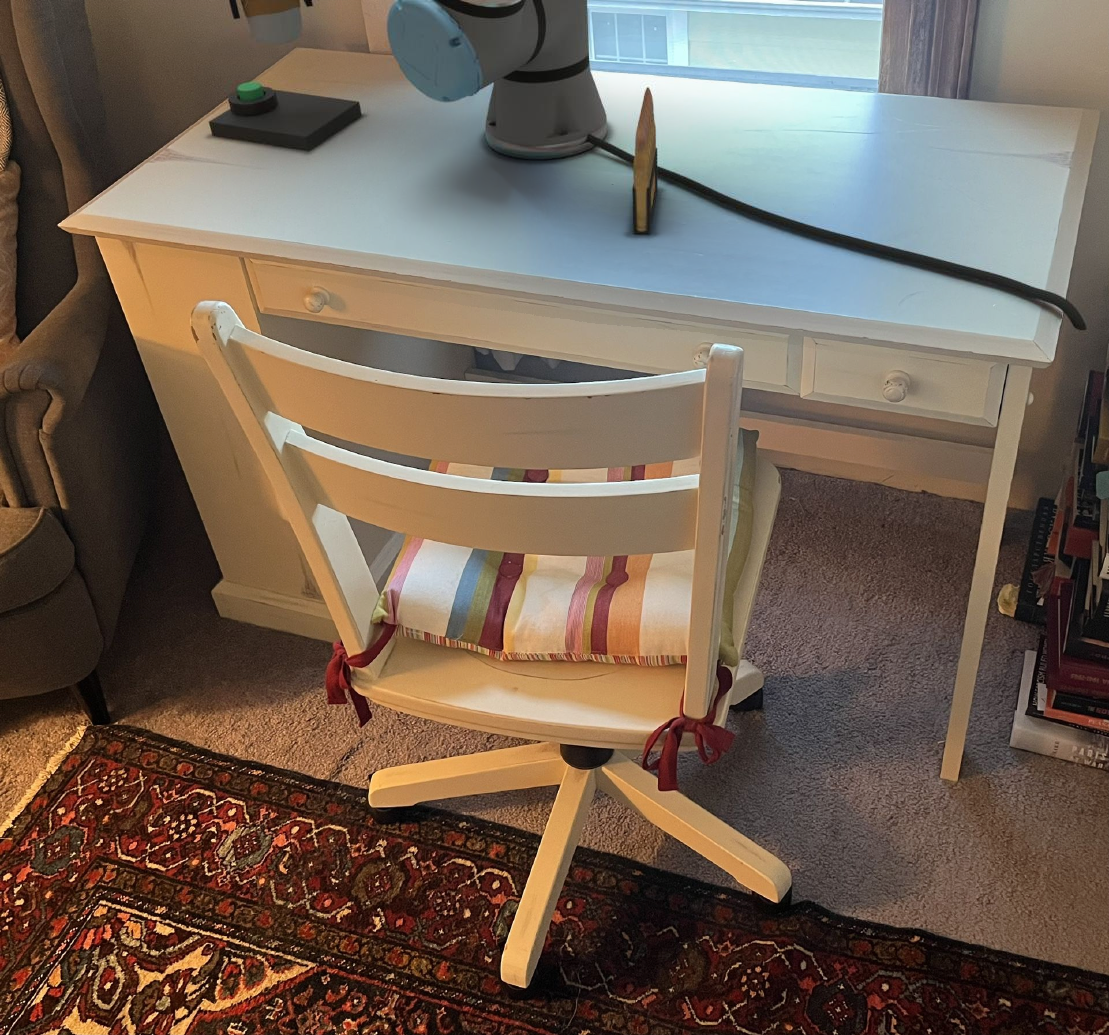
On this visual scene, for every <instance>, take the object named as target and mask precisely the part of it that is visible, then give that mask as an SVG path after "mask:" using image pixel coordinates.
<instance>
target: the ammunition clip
mask: <svg viewBox="0 0 1109 1035" xmlns="http://www.w3.org/2000/svg"><path fill="white" fill-rule="evenodd" d="M654 109H655V108H654V99H653V94H652V91H651V89H650V87H645V91H644V95H643V99H642V103H641V108H640V112H639V113H640V114H639V118H638V122H637V127H636V132H635V141H634V147H635V148H634V156H635V158H634V165H633V184H632V189H631V192H632V195H631V196H632V234H640V235H641V234H648V235H649V234H651V232H652V226H653V220H654V215H655V208H656V202H657V196H658V190H659V189H658V187H659V186H658V185H659V184H658V183H659V182H658V176H659V175H658V173H657V166H658V147H657V129H656V128H657V127H656V122H655V113H654V112H655V110H654Z"/></svg>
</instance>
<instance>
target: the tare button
mask: <svg viewBox="0 0 1109 1035" xmlns="http://www.w3.org/2000/svg"><path fill="white" fill-rule="evenodd" d="M262 86H263V85H262V83H261V82H259V81H248V82H244V83H242V84H239V85H238V86H237V91H238V93H239V97H240V100H243V101H251V100H256V99H259V98H262V97H263V96H264V92H263V88H262Z"/></svg>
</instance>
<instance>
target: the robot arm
mask: <svg viewBox="0 0 1109 1035" xmlns="http://www.w3.org/2000/svg"><path fill="white" fill-rule="evenodd" d="M303 2H304V5H305V6H306V7H307V8H309V7H313V6H314V3H313V1H312V0H303ZM228 3H229V7H230V12H231V14H232V18H233V20H238V19H241V16H240V11H239V7H238V3H237V0H228ZM588 13H589V12H588V0H395V1H394V2H393V3H392V4H391V6H390V8H389V11H388V14H387V19H386V20H387V21H386V33H387V39H388V43H389V46H390V49H391V50H390V51H391V53H392V55H393V58H394V59H395V60H396V62H397V64H398V67H399V69H400V71H401V72H402V74H403V75H404V77H406V79H407V80H408V82H410V83H411V85H412V86H414V88H416V90H418V91H419V92H420V93H422V94H423V95H424V96H426V97H428V98H430V99H432V100H434V101H436V102H442V103H454V102H457V101H459V100H462V99H464V98H466V97H472V96H473V97H474V95H477V94H478V93H479V92H480V91H481V90H483V89H484V88H486V87H488V86H490V85H492V89H491V94H490V99H489V104H488V109H487V114H486V119H485V126H484V127H485V135H486V141H487V144H488V145H489V146H490V148H491V149H493V150H494V151H495V152H498V153H500V154H502V155H505V156H508V157H512V158H516V159H517V158H518V159H524V160H549V159H559V158H565V157H570V156H573V155H574V156H575V155H577V154H579V153H583V152H585V151H588V150H590V149H592V148H594V147H597V148H599V149H601V150H603V151H605V152H607V153H609V154H612V155H613V156H615V157H617V158H619V159H621V160H623V161H625V162H627V163H629V164H631V165H633V166H634V158H635V155H634V154H631V153H629V152H627V151H625V150H624V149H621V148H619V147H617V146H615V145H614V144H611V143H610V142H608V141H605V140H604V139H605V137H606V136H607V133H608V122H607V120H608V119H607V113H606V110H605V107H604V105H603V101H602V99H601V95H600V93H599V91H598V87H597V85H596V82H595V80H594V77H593V74H592V71H591V62H590V40H589V39H590V37H589V15H588ZM657 173H658V176H659V177H661V178H664V179H667V180H669V181H672V182H674V183H676V184H678V185H681V186H683V187H686V188H688V189H690V190H692V191H694V192H697V193H699V194H701V195H703V196H706V197H707V198H709V199H712V200H714V201H715V202H718V203H720V204H722V205H725V206H726V207H729V208H731V209H734V210H737V211H739V212H741V213H744V214H746V215H749V216H751V217H755V218H757V219H760V220H761V221H765V222H768V223H771V224H774V225H777V226H778V227H779V226H780V227H782V228H786V229H789V230H792V231H795V232H798V233H801V234H805V235H808V236H811V237H815V238H819V239H822V240H824V241H828V242H832V243H836V244H839V245H843V246H848V247H850V248H854V249H859V250H862V251H865V252H869V253H873V254H877V255H881V256H885V257H889V258H893V259H896V260H901V261H904V262H908V263H913V264H916V265H919V266H924V267H928V268H932V269H935V270H939V271H941V272H946V273H950V274H953V275H957V276H962V277H964V278H969V279H973V280H976V281H977V280H978V281H981V282H985V283H988V284H992V285H994V286H998V287H1002V288H1005V289H1007V290H1010V291H1013V292H1015V293H1018V294H1021V295H1023V296H1025V297H1028V298H1031V299H1034V300H1037V301H1042V302H1045V303H1048V304H1051V305H1053V306H1055V307H1057V308H1058V309H1059V310H1061V311H1062V312H1063V313H1064V314H1065V315H1066V317H1067V318H1068V320H1069V321H1070V323H1071V324H1072V326H1073V328H1074V329H1076V330H1079V331H1086V330H1087V325H1086V324H1087V323H1086V322H1085V320H1084V318H1083V316H1082V315H1081V313H1080V312H1079V310H1078V309H1077V308H1076V307H1075V306H1074V305H1073V303H1071V302H1070V301H1069V300H1068V299H1066V298H1065V297H1063V296H1062V295H1059V294H1057V293H1055V292H1051V291H1049V290H1045V289H1042V288H1038V287H1035V286H1032V285H1030V284H1027V283H1024V282H1022V281H1019V280H1016V279H1013V278H1010V277H1008V276H1004V275H1001V274H997V273H995V272H990V271H987V270H984V269H983V270H982V269H979V268H975V267H971V266H967V265H963V264H959V263H955V262H951V261H948V260H945V259H940V258H936V257H933V256H929V255H925V254H921V253H917V252H913V251H909V250H905V249H901V248H896V247H893V246H889V245H885V244H881V243H877V242H873V241H870V240H866V239H862V238H858V237H856V236H855V237H854V236H851V235H847V234H844V233H840V232H835V231H831V230H828V229H824V228H820V227H817V226H815V225H810V224H807V223H805V222H801V221H797V220H794V219H791V218H789V217H785V216H781V215H779V214H776V213H773V212H770V211H766V210H764V209H761V208H759V207H756V206H753V205H751V204H748V203H745V202H743V201H741V200H738V199H735V198H733V197H730V196H728V195H726V194H724V193H721V192H719V191H718V190H715V189H713V188H711V187H708V186H707V185H705V184H702V183H700V182H698V181H695V180H694V179H691V178H689V177H687V176H685V175H682V174H680V173H677V172H675V171H672V170H669V169H667V168H664V167H662V166H659V165H657Z"/></svg>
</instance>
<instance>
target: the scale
mask: <svg viewBox="0 0 1109 1035" xmlns="http://www.w3.org/2000/svg"><path fill="white" fill-rule="evenodd" d="M262 88H263V92H264V96H263V97H262V98H259V99H256V100H251V101H243V100H240V97H239V93H238V90H236V91H235V92H233V93H231V94H230V95H229V96H228V99H227V101H228V105H229V109H227V110H226V111H224V112H222V113H220V114H219V115H217V116H216V117H214V118H212V119H211V120H209V121H208V125H209V128H210V132H211V135H212V136H214V137H221V138H226V139H232V140H237V141H245V142H250V143H256V144H257V143H258V144H263V145H269V146H275V147H281V148H288V149H293V150H299V151H304V152H305V151H306V152H310V151H312V150H313V149H314V148H317V146H319V145H320V144H322V143H323V142H325V141H327V139H329V138H330V137H333V136H334V135H335V134H337V133H338V132H340V131H341V130H342V129H344V128H346V127H347V126H349V125H350V124H351V123H353V122H354V121H356V120H357V119H359V118H361V116H362V115H363V114H362V108H361V103H360V101H358V100H350V99H343V98H336V97H329V96H322V95H315V94H309V93H308V94H307V93H302V92H294V91H288V90H279V89H273V88H272V87H270V86H263V85H262Z"/></svg>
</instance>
